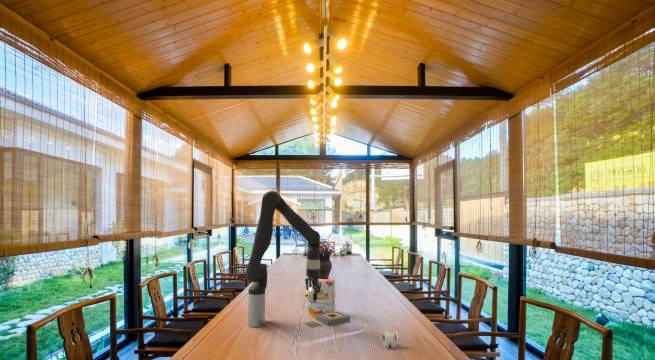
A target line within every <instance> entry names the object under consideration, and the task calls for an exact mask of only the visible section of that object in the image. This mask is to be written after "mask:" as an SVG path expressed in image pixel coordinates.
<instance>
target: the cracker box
mask: <svg viewBox="0 0 655 360" xmlns="http://www.w3.org/2000/svg"><path fill="white" fill-rule="evenodd" d="M318 280H319V282H321V289H320V292H319V293H317V302H316V303H310V311H309V312H310V313H313V314H326V313H331V312H336V311H335V310H336V307H335V306H336V304H335V303H336V302H335V301H336V300H335V299H336V296H335V295H336V293H335V292H336V291H335V290H336V289H335V288H336V287H335V286H336V285H335V283H336V281H335V279H328V278H326V279H324V278H318ZM315 287H316V286H315Z"/></svg>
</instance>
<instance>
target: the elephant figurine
mask: <svg viewBox="0 0 655 360" xmlns="http://www.w3.org/2000/svg"><path fill="white" fill-rule="evenodd" d="M398 339H399V335H398V331H397V330H395V331H394V332H383V331H381V341H382V343H383V346H384V348H385V349H389V348H391V349H396V342H397V341H398Z"/></svg>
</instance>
